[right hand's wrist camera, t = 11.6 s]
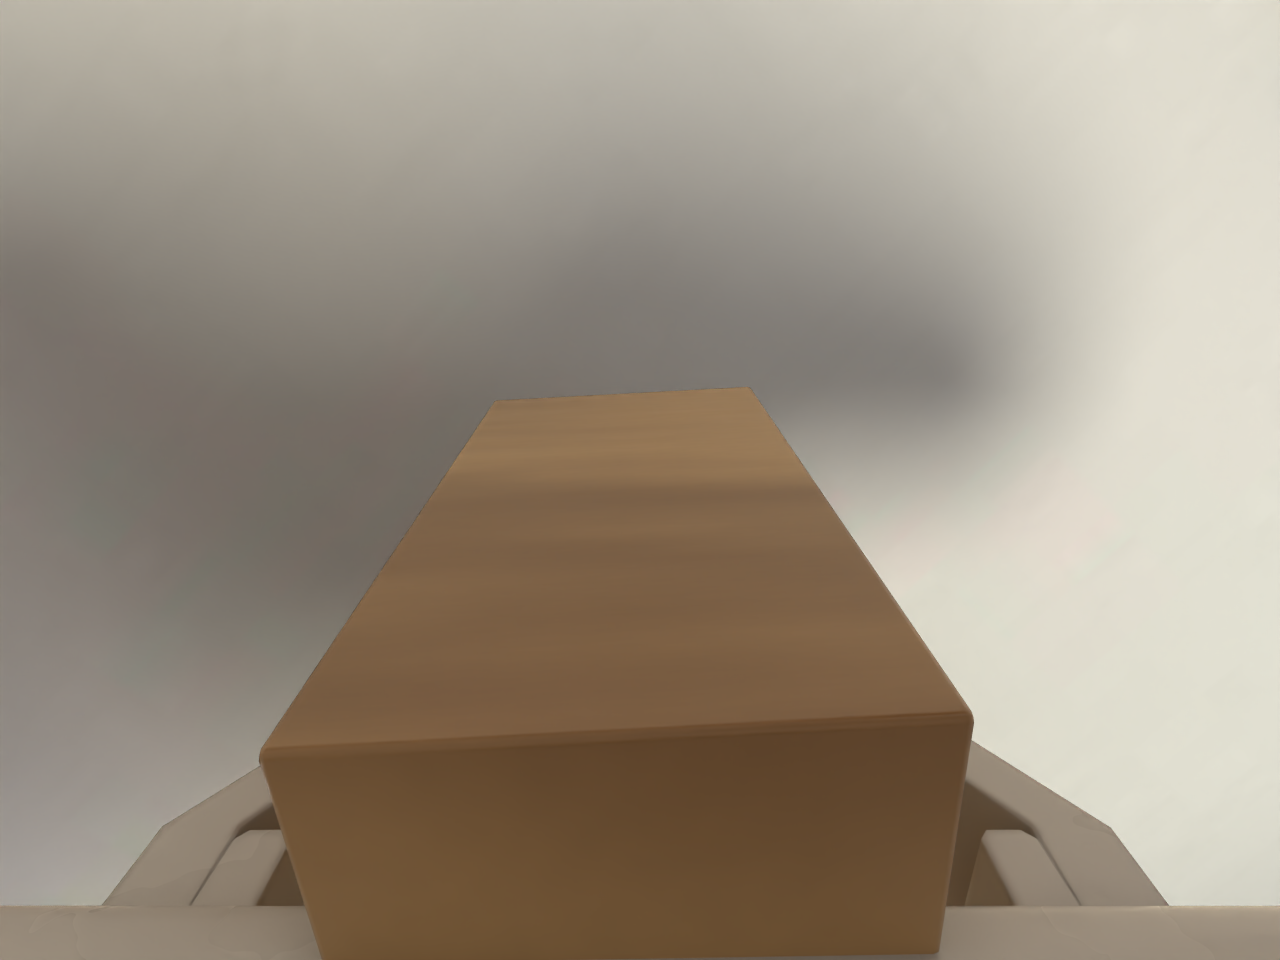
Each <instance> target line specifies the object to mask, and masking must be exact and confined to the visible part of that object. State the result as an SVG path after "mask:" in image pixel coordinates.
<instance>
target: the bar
mask: <svg viewBox="0 0 1280 960" xmlns="http://www.w3.org/2000/svg"><path fill="white" fill-rule="evenodd" d="M973 726H974V717H973V715H972V712H971V710H970V709H969V707H968V706H967V704H966V703H965V701H964V700H963V698H962V697H961V695H960V694H959V693H958V691H957V690H956V688H955V687H954V685H953V684H952V682H951V681H950V679H949V678H948V676H947V675H946V674H945V672H944V671H943V669H942V668H941V666H940V665H939V663H938V662H937V660H936V659H935V657H934V656H933V655H932V653H931V652H930V650H929V649H928V647H927V646H926V644H925V643H924V641H923V640H922V638H921V637H920V636H919V634H918V633H917V631H916V630H915V628H914V627H913V625H912V624H911V622H910V621H909V619H908V618H907V616H906V615H905V614H904V612H903V611H902V609H901V608H900V606H899V605H898V603H897V602H896V600H895V599H894V597H893V596H892V595H891V593H890V592H889V590H888V589H887V587H886V586H885V584H884V583H883V581H882V580H881V578H880V577H879V576H878V574H877V573H876V571H875V570H874V568H873V567H872V565H871V564H870V562H869V561H868V559H867V558H866V557H865V555H864V554H863V552H862V551H861V549H860V548H859V546H858V545H857V543H856V542H855V540H854V539H853V537H852V536H851V535H850V533H849V532H848V530H847V529H846V527H845V526H844V524H843V523H842V521H841V520H840V518H839V517H838V516H837V514H836V513H835V511H834V510H833V508H832V507H831V505H830V504H829V502H828V501H827V499H826V498H825V497H824V495H823V494H822V492H821V491H820V489H819V488H818V486H817V485H816V483H815V482H814V480H813V479H812V478H811V476H810V475H809V473H808V472H807V470H806V469H805V467H804V466H803V464H802V463H801V461H800V460H799V458H798V457H797V456H796V454H795V453H794V451H793V450H792V448H791V447H790V445H789V444H788V442H787V441H786V439H785V438H784V437H783V435H782V434H781V432H780V431H779V429H778V428H777V426H776V425H775V423H774V422H773V420H772V419H771V418H770V416H769V415H768V413H767V412H766V410H765V409H764V407H763V406H762V404H761V403H760V401H759V400H758V399H757V397H756V396H755V394H754V393H753V391H752V390H751V388H749V387H738V388H719V389H701V390H682V391H664V392H645V393H627V394H608V395H590V396H571V397H553V398H534V399H515V400H497V401H495V402H494V403H493V404H492V406H491V407H490V409H489V410H488V412H487V413H486V415H485V416H484V418H483V419H482V421H481V422H480V424H479V425H478V427H477V428H476V430H475V431H474V433H473V434H472V436H471V437H470V439H469V440H468V442H467V443H466V445H465V446H464V448H463V449H462V451H461V452H460V454H459V455H458V457H457V458H456V460H455V461H454V463H453V464H452V466H451V467H450V468H449V470H448V471H447V473H446V474H445V476H444V477H443V479H442V480H441V482H440V483H439V485H438V486H437V488H436V489H435V491H434V492H433V494H432V495H431V497H430V498H429V500H428V501H427V503H426V504H425V506H424V507H423V509H422V510H421V512H420V513H419V515H418V516H417V518H416V519H415V521H414V522H413V524H412V525H411V527H410V528H409V530H408V531H407V532H406V534H405V535H404V537H403V538H402V540H401V541H400V543H399V544H398V546H397V547H396V549H395V550H394V552H393V553H392V555H391V556H390V558H389V559H388V561H387V562H386V564H385V565H384V567H383V568H382V570H381V571H380V573H379V574H378V576H377V577H376V579H375V580H374V582H373V583H372V585H371V586H370V588H369V589H368V591H367V592H366V594H365V595H364V597H363V598H362V599H361V601H360V602H359V604H358V605H357V607H356V608H355V610H354V611H353V613H352V614H351V616H350V617H349V619H348V620H347V622H346V623H345V625H344V626H343V628H342V629H341V631H340V632H339V634H338V635H337V637H336V638H335V640H334V641H333V643H332V644H331V646H330V647H329V649H328V650H327V652H326V653H325V655H324V656H323V658H322V659H321V661H320V662H319V663H318V665H317V666H316V668H315V669H314V671H313V672H312V674H311V675H310V677H309V678H308V680H307V681H306V683H305V684H304V686H303V687H302V689H301V690H300V692H299V693H298V695H297V696H296V698H295V699H294V701H293V702H292V704H291V705H290V707H289V708H288V710H287V711H286V713H285V714H284V716H283V717H282V719H281V720H280V722H279V723H278V725H277V726H276V727H275V729H274V730H273V732H272V733H271V735H270V736H269V738H268V739H267V741H266V742H265V744H264V745H263V747H262V748H261V751H260V756H259V763H260V766H261V769H262V772H263V775H264V778H265V782H266V785H267V788H268V791H269V794H270V797H271V801H272V804H273V807H274V810H275V813H276V816H277V820H278V823H279V826H280V829H281V832H282V835H283V838H284V842H285V845H286V848H287V851H288V854H289V857H290V861H291V864H292V867H293V870H294V873H295V876H296V880H297V883H298V886H299V889H300V892H301V895H302V899H303V902H304V905H305V908H306V911H307V914H308V917H309V921H310V924H311V927H312V930H313V933H314V936H315V940H316V943H317V946H318V949H319V952H320V955H321V959H322V960H602V959H662V958H723V957H784V956H845V955H906V954H935V953H937V952H939V948H940V941H941V935H942V928H943V922H944V915H945V909H946V902H947V896H948V889H949V883H950V876H951V869H952V863H953V856H954V850H955V843H956V837H957V830H958V824H959V817H960V811H961V804H962V798H963V791H964V784H965V778H966V771H967V765H968V758H969V752H970V745H971V739H972V732H973Z"/></svg>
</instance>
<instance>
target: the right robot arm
mask: <svg viewBox="0 0 1280 960" xmlns="http://www.w3.org/2000/svg"><path fill="white" fill-rule="evenodd" d="M0 960H322V959H321V955H320V952H319V949H318V946H317V943H316V940H315V936H314V933H313V930H312V927H311V924H310V921H309V917H308V914H307V911H306V908H305V905H304V902H303V899H302V895H301V892H300V889H299V886H298V883H297V880H296V876H295V873H294V870H293V867H292V864H291V861H290V857H289V854H288V851H287V848H286V845H285V842H284V838H283V835H282V832H281V829H280V826H279V823H278V820H277V816H276V813H275V810H274V807H273V804H272V801H271V797H270V794H269V791H268V788H267V785H266V782H265V778H264V775H263V772H262V769H261V766H259V767H258V768H256V769H254V770H253V771H251V772H249V773H248V774H246V775H245V776H243V777H241V778H240V779H238V780H237V781H235V782H233V783H232V784H230V785H229V786H227V787H225V788H224V789H222V790H220V791H219V792H217V793H216V794H214V795H212V796H211V797H209V798H208V799H206V800H204V801H203V802H201V803H200V804H198V805H196V806H195V807H193V808H191V809H190V810H188V811H187V812H185V813H183V814H182V815H180V816H179V817H177V818H175V819H174V820H172V821H171V822H169V823H167V824H166V825H164V826H162V828H161V829H160V830H159V831H158V833H157V834H156V835H155V837H154V838H153V839H152V841H151V842H150V843H149V845H148V846H147V847H146V848H145V850H144V851H143V852H142V854H141V855H140V856H139V858H138V859H137V860H136V862H135V863H134V864H133V865H132V867H131V868H130V869H129V871H128V872H127V873H126V875H125V876H124V877H123V878H122V880H121V881H120V882H119V884H118V885H117V886H116V888H115V889H114V890H113V892H112V893H111V894H110V895H109V897H108V898H107V899H106V901H105V902H104V903H103V905H102V906H0ZM602 960H1280V906H1169V905H1168V904H1167V902H1166V901H1165V900H1164V898H1163V897H1162V896H1161V894H1160V893H1159V892H1158V890H1157V889H1156V888H1155V886H1154V885H1153V884H1152V882H1151V881H1150V880H1149V878H1148V877H1147V876H1146V874H1145V873H1144V872H1143V870H1142V869H1141V867H1140V866H1139V865H1138V863H1137V862H1136V861H1135V859H1134V858H1133V857H1132V855H1131V854H1130V853H1129V851H1128V850H1127V849H1126V847H1125V846H1124V845H1123V843H1122V842H1121V841H1120V839H1119V838H1118V837H1117V835H1116V834H1115V833H1114V831H1113V830H1112V829H1111V828H1110V827H1109V826H1107V825H1106V824H1104V823H1102V822H1101V821H1099V820H1098V819H1096V818H1094V817H1093V816H1091V815H1090V814H1088V813H1086V812H1085V811H1083V810H1082V809H1080V808H1078V807H1077V806H1075V805H1074V804H1072V803H1071V802H1069V801H1067V800H1066V799H1064V798H1063V797H1061V796H1059V795H1058V794H1056V793H1055V792H1053V791H1051V790H1050V789H1048V788H1047V787H1045V786H1043V785H1042V784H1040V783H1039V782H1037V781H1036V780H1034V779H1032V778H1031V777H1029V776H1028V775H1026V774H1024V773H1023V772H1021V771H1020V770H1018V769H1016V768H1015V767H1013V766H1012V765H1010V764H1009V763H1007V762H1005V761H1004V760H1002V759H1001V758H999V757H997V756H996V755H994V754H993V753H991V752H989V751H988V750H986V749H985V748H983V747H981V746H980V745H978V744H977V743H975V742H974V741H972V740H971V745H970V752H969V758H968V765H967V771H966V778H965V784H964V791H963V798H962V804H961V811H960V817H959V824H958V830H957V837H956V843H955V850H954V856H953V863H952V869H951V876H950V883H949V889H948V896H947V902H946V909H945V915H944V922H943V928H942V935H941V941H940V948H939V952H937V953H935V954H906V955H845V956H784V957H723V958H662V959H602Z"/></svg>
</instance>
